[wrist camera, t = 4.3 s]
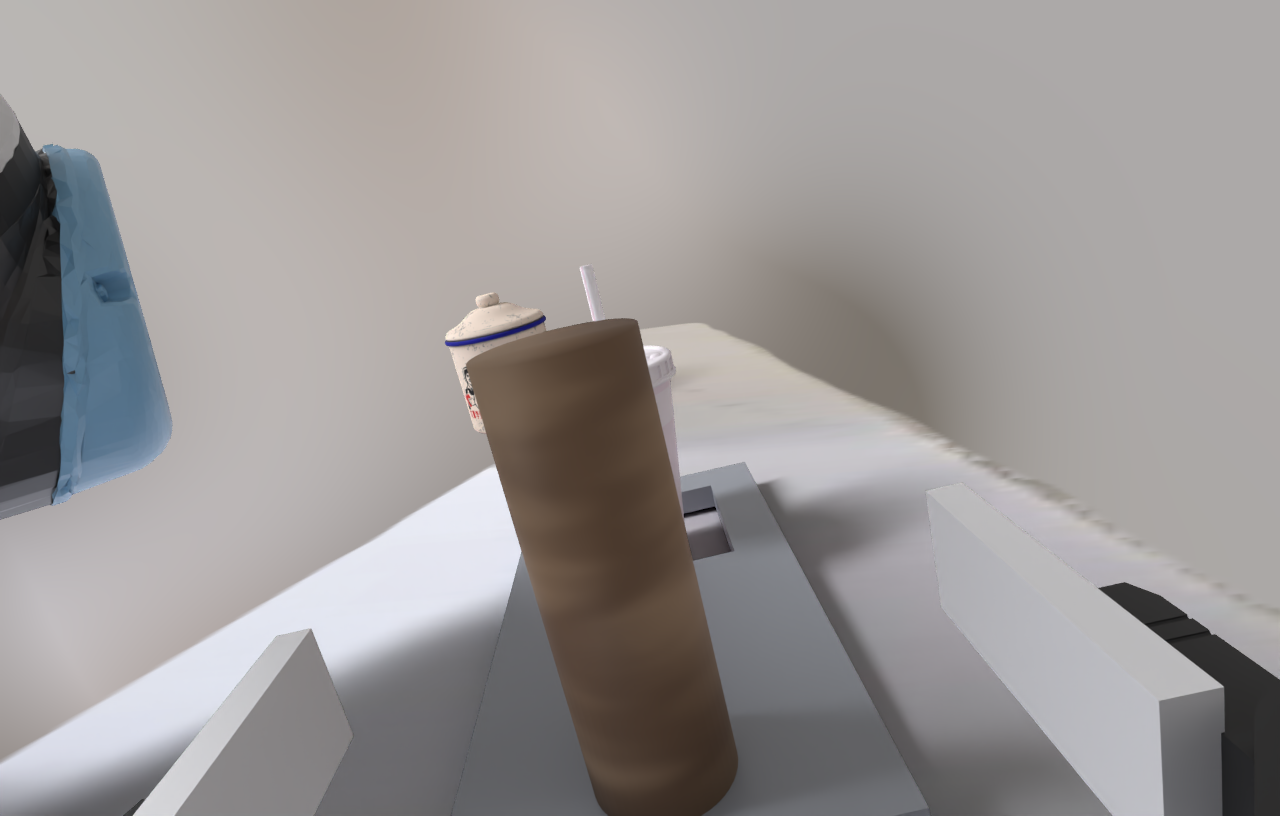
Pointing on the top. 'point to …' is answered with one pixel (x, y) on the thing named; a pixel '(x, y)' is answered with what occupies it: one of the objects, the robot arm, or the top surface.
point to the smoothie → (659, 373)
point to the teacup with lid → (488, 339)
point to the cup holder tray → (652, 620)
